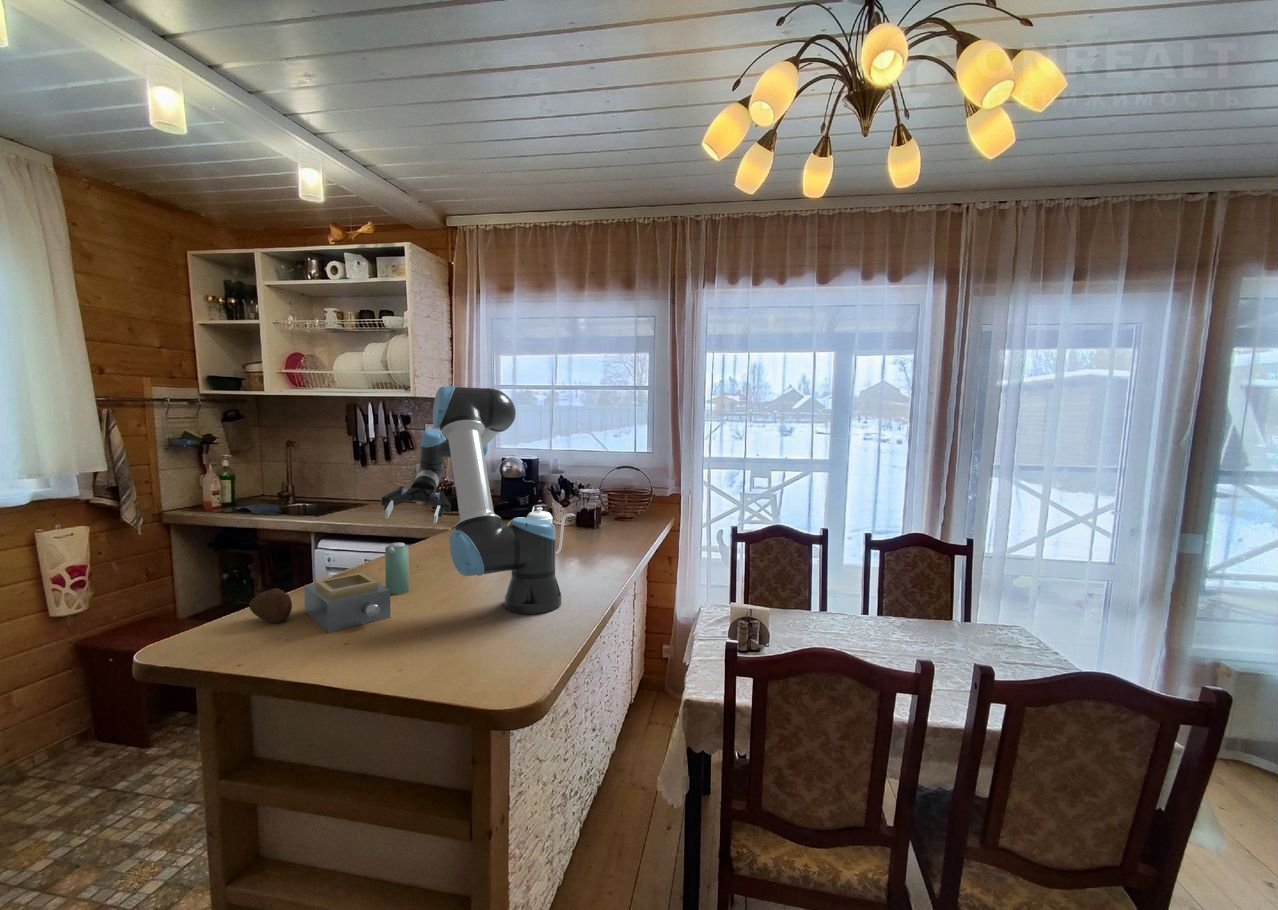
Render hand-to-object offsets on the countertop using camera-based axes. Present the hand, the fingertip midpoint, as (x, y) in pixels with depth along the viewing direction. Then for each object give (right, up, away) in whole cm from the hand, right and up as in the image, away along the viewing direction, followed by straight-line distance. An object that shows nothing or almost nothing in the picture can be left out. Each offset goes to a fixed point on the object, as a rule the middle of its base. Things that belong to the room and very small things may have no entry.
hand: (410, 517), depth 155 cm
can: (-1, -21, -6) cm, 21 cm away
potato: (-21, -22, -29) cm, 42 cm away
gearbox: (-4, -22, -25) cm, 33 cm away
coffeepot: (+33, -19, +30) cm, 49 cm away
